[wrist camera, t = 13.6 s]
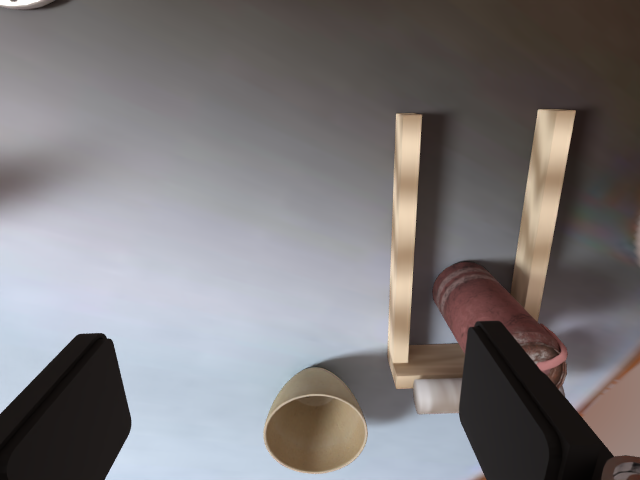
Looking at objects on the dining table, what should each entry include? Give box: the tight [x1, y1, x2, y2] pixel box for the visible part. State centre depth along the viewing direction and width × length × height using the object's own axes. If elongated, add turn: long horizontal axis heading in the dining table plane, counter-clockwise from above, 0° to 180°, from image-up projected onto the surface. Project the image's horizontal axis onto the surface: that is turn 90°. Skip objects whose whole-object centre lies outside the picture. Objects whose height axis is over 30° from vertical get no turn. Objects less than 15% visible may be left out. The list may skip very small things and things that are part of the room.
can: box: [432, 262, 568, 389], centre depth 35 cm, size 6×6×14 cm
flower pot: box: [264, 367, 368, 474], centre depth 42 cm, size 10×10×7 cm
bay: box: [387, 109, 576, 414], centre depth 36 cm, size 28×16×10 cm, turn 2°
